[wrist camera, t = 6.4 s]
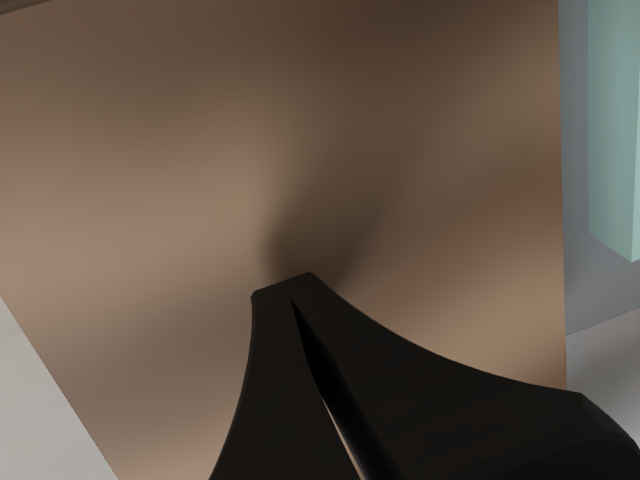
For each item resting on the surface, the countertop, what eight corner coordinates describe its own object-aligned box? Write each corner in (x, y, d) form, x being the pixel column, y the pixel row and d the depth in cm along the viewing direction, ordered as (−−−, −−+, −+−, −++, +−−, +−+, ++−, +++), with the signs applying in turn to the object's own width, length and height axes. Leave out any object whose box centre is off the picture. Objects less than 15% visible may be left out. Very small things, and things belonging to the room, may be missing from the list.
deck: (497, 345, 22) (566, 425, 18) (176, 473, 20) (186, 586, 17) (450, -131, 14) (555, -145, 11) (-78, 19, 12) (-152, 59, 9)
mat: (721, 267, 23) (727, 271, 23) (511, 351, 22) (515, 356, 22) (797, -253, 15) (809, -256, 15) (467, -162, 14) (474, -163, 14)
